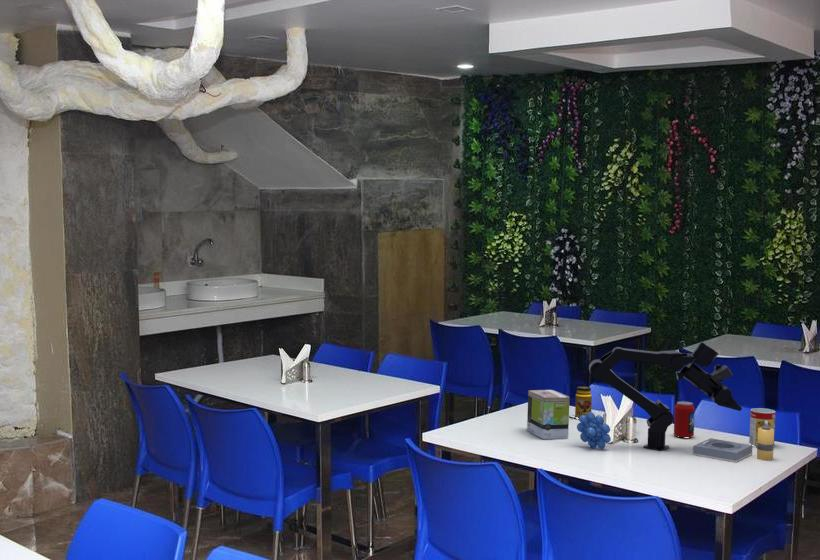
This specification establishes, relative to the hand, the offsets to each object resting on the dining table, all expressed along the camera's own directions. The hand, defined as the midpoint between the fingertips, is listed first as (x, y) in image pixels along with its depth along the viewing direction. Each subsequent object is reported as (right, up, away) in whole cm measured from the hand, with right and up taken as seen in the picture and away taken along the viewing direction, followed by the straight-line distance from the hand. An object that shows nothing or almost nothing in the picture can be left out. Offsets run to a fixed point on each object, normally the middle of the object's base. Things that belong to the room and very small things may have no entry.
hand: (737, 407), depth 310 cm
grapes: (-47, -14, +1) cm, 50 cm away
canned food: (+11, -14, +10) cm, 21 cm away
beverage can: (-12, -13, +21) cm, 27 cm away
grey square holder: (-6, -15, -4) cm, 17 cm away
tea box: (-59, -13, +21) cm, 64 cm away
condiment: (-42, -11, +50) cm, 66 cm away
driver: (+6, -15, -8) cm, 18 cm away
